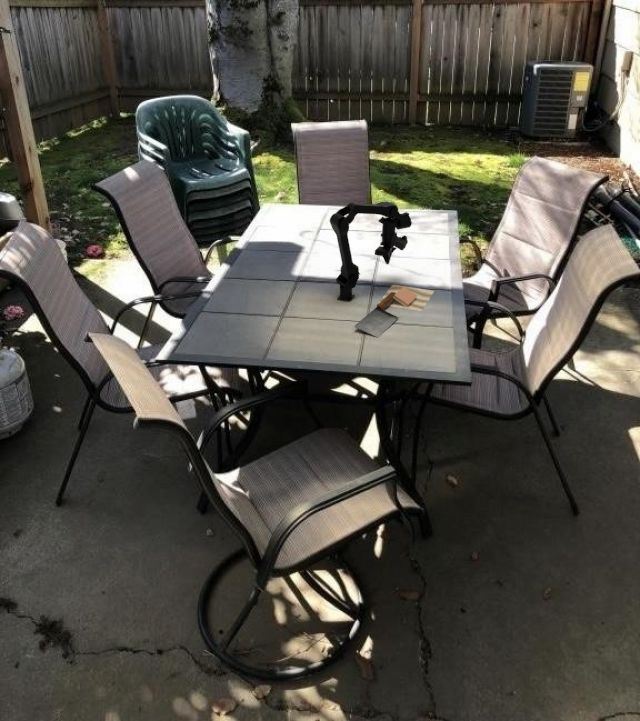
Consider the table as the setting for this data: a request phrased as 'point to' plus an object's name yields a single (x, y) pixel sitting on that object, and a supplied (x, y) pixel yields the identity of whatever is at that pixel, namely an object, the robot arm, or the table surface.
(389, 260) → the robot arm
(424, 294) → the board
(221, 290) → the table surface
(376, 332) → the meat cleaver
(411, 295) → the tile
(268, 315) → the table surface
